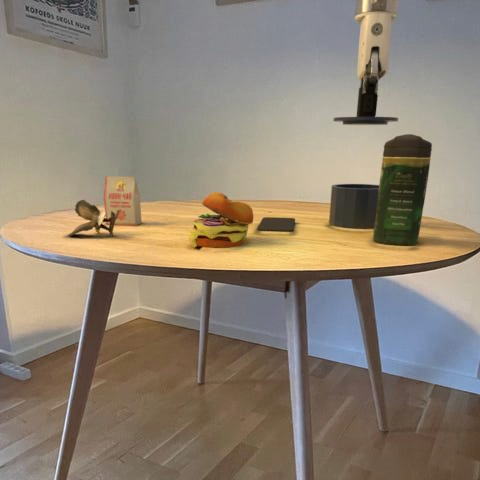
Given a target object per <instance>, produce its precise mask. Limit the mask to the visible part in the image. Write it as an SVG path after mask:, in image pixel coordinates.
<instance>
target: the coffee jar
mask: <svg viewBox="0 0 480 480" xmlns="http://www.w3.org/2000/svg"><path fill="white" fill-rule="evenodd" d="M432 151H433V144H432V142H430V141H428V140H426V139H424V138H422V137H421V136H420V135H417V134H412V133H406V134H401V135H395V137H394V138H391V139H390V140H387V141H386V142H385V143H384V145H383V153H382V158H381V159H382V160H381V168H380V178H379V184H378V185H379V193H378V202H377V211H376V219H375V226H374V229H373V236H372V240H373V243H375V244H379V245H380V244H381V245H385V246H398V247H399V246H400V247H412V246H413V247H414V246H416V245H417V244H418V241H419V238H420V237H419V236H420V231H421V225H422V218H423V212H424V206H425V200H426V193H427V188H428V182H429V175H430V168H431V167H430V166H431V157H432Z"/></svg>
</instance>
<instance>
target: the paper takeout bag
mask: <svg viewBox="0 0 480 480" xmlns="http://www.w3.org/2000/svg"><path fill="white" fill-rule="evenodd" d="M103 189H104V190H103V204H104V205H103V206H104V210H105V211H106V216H105V218H106V219H109V218H110V217H111V211H112V212H114V213H115V214H116V213H117V211H118V210H119V214H118V217H117V219H116V221H115V224H114V226H138V225H140V224H142V223H143V221H142V206H141V196H140V192H139V188H138V183H137V179H136V176H109V175H107V176H106V175H105V176H104V188H103ZM105 225H110V222H105Z"/></svg>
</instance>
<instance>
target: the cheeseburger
mask: <svg viewBox="0 0 480 480" xmlns="http://www.w3.org/2000/svg"><path fill="white" fill-rule="evenodd" d="M201 205H202V206H204V207H205V208H207V209H208V210H210V211H211V212H213V213H215V214H210V213H206V214H201V215H198V216H197V219H193V222H192V225H193V226H192V227H191V228H190V230H189V232H190V234H189V236H188V242H189V243H190V245H191V247H192V248H196V247H197V246H198V247H207V248H232V247H238V246H240V245H242V244H243V242H244V241H245V240H246V238H247V235H248V231H249V230H248V229H249V225H252V224H253V223H254V212H253V211H254V210H253V208H252V207H251V205H250V204H248V203H246V202H241V201H233V200H231V199H230V198H228V196H227V195H225V194H224V193H222V192H217V191H215V192H211V193H210V194H208V195H207V196H206V197H205V198H204V199H203V200H202V202H201Z"/></svg>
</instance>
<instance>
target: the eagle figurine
mask: <svg viewBox="0 0 480 480" xmlns="http://www.w3.org/2000/svg"><path fill="white" fill-rule="evenodd" d="M74 207H75V208H74V211H75V214H77V216H78V217H80V218H82V219H84V220H87V222H85V223H84V222H83V223H81V224H79V225H77V226H76V227H75V228H74V229H73V230H72V232H70V233H69V234H67V236H68V237H72V236H74V235H76V234H79V233H80V232H81V233H82V232H87V231H90V230H93V229H94V230H95V232H96V233H97V234H100V233H101V229H103V230H105V231H107V232H108V233H109V235H110V236H111V237H114V227H115V225H114V224H115V221H116V219H117V217H118V214H119V210H118V211H117V213H116V214H115V213H114V212H112V211H111V217H110V218H109V219H106V211H105V209H104V210H103V211H102V212H101V210H100V209H99V208H98V206H96V205H95V204H91V203H90V202H88V201H87V200H86V199H81V200H78V201H76V204H75V205H74ZM106 222H110V224H109V226H107V225H106V224H103V223H106Z"/></svg>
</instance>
